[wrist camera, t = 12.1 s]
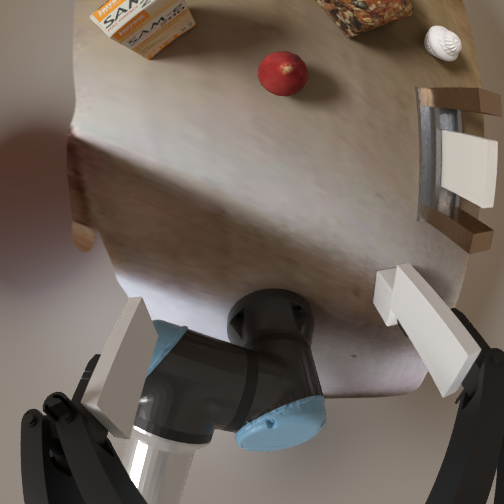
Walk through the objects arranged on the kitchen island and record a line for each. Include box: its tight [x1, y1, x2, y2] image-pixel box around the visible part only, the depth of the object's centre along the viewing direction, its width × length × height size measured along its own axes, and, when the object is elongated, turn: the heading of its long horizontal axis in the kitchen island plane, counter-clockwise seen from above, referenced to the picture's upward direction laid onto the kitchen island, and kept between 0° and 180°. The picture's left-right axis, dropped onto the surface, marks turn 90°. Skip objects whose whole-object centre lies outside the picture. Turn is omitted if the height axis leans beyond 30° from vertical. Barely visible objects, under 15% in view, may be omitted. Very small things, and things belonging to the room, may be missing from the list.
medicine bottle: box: [373, 267, 408, 337], centre depth 40 cm, size 7×7×12 cm
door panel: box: [440, 129, 498, 208], centre depth 29 cm, size 9×2×12 cm, turn 8°
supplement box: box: [90, 0, 196, 60], centre depth 21 cm, size 8×5×13 cm, turn 126°
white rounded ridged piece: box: [424, 26, 462, 61], centre depth 23 cm, size 6×6×7 cm
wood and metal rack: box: [415, 87, 502, 254], centre depth 29 cm, size 22×8×13 cm, turn 8°
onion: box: [258, 52, 308, 96], centre depth 27 cm, size 6×6×8 cm
